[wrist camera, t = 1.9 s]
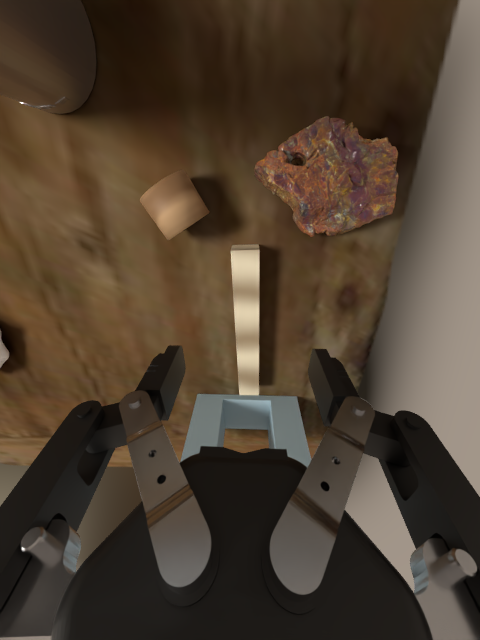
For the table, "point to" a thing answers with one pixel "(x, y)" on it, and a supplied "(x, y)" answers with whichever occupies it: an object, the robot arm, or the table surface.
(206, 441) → the light blue notched block
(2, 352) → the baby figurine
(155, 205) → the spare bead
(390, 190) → the mineral specimen
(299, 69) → the table surface
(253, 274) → the long cream stick
